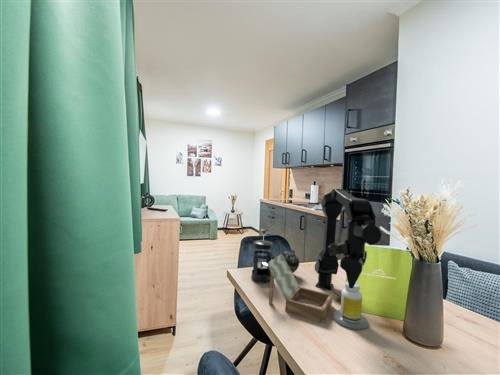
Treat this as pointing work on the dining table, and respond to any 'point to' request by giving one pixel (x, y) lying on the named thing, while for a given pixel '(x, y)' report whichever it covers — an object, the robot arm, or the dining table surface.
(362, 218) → the robot arm
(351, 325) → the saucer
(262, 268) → the french press
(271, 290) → the cold frame
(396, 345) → the dining table surface
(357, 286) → the pill bottle
